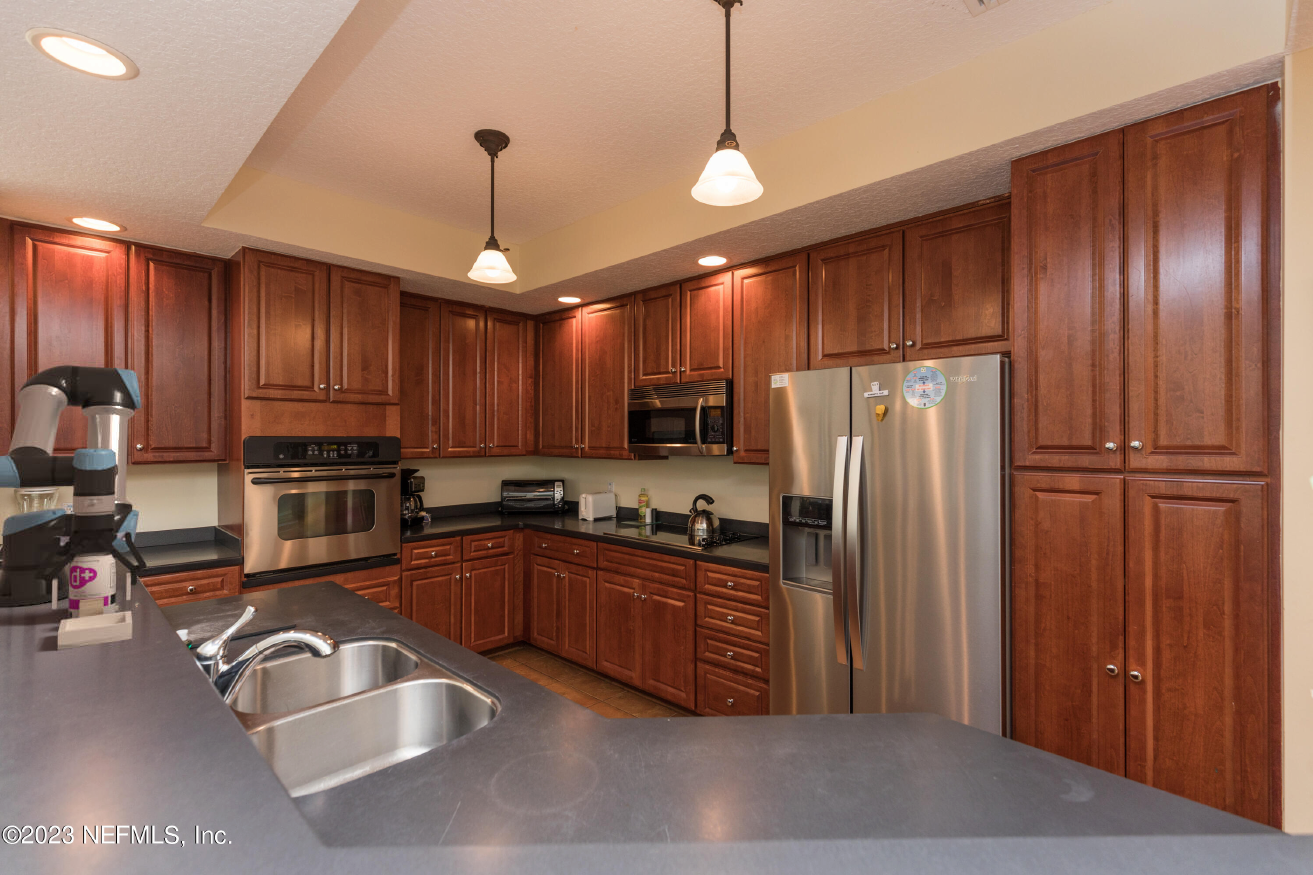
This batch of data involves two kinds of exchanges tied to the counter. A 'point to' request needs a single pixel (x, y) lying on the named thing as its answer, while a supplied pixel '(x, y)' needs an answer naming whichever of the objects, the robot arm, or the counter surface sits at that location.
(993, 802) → the counter surface
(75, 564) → the supplement can
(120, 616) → the off-white tray
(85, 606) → the birch block
